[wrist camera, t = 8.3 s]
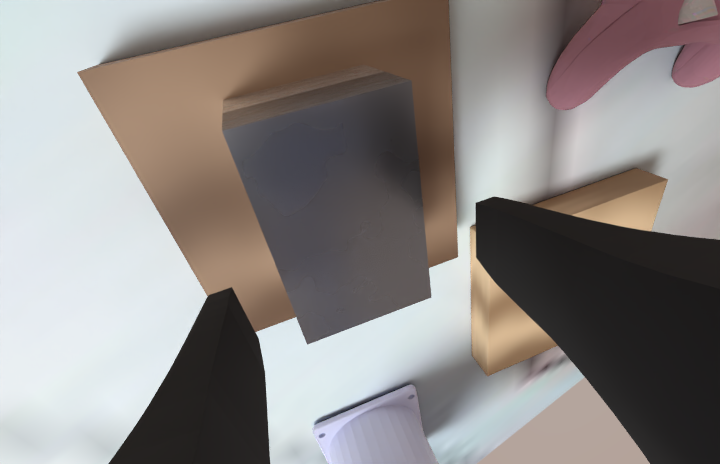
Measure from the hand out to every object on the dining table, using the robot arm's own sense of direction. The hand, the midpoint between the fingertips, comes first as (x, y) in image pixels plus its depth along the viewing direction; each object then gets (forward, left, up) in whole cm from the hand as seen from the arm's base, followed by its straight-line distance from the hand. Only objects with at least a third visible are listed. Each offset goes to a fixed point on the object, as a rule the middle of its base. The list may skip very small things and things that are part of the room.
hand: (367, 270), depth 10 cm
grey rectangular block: (0, 0, -6) cm, 6 cm away
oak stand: (-12, -14, -8) cm, 20 cm away
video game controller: (+2, -17, -8) cm, 19 cm away
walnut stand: (0, 0, -8) cm, 8 cm away
